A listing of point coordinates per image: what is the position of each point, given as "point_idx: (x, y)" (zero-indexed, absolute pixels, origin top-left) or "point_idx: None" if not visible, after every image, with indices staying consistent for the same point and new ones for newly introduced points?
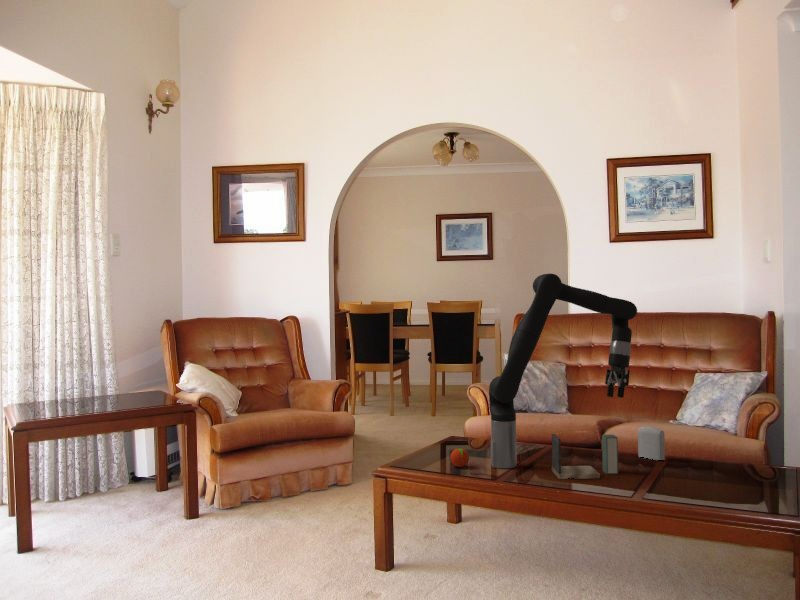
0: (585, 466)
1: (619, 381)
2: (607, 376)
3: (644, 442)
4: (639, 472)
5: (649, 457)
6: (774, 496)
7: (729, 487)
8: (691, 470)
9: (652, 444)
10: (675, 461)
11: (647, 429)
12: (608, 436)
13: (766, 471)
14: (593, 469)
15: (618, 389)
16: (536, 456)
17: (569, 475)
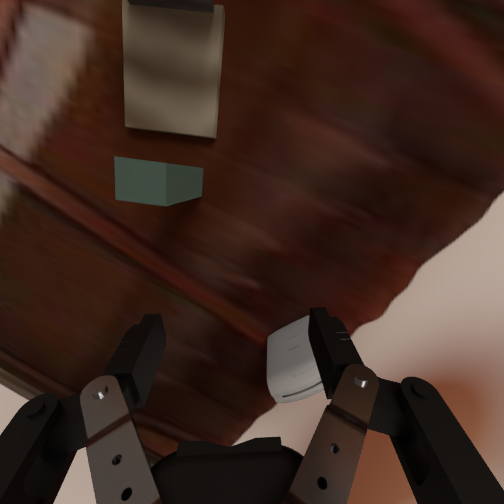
0: (207, 119)
1: (86, 430)
2: (452, 489)
3: (303, 341)
4: (178, 246)
5: (289, 326)
6: (14, 371)
7: (62, 342)
8: (184, 350)
9: (282, 350)
10: (262, 362)
11: (301, 374)
12: (130, 172)
13: (164, 448)
14: (172, 128)
15: (130, 354)
16: (422, 24)
17: (124, 32)
